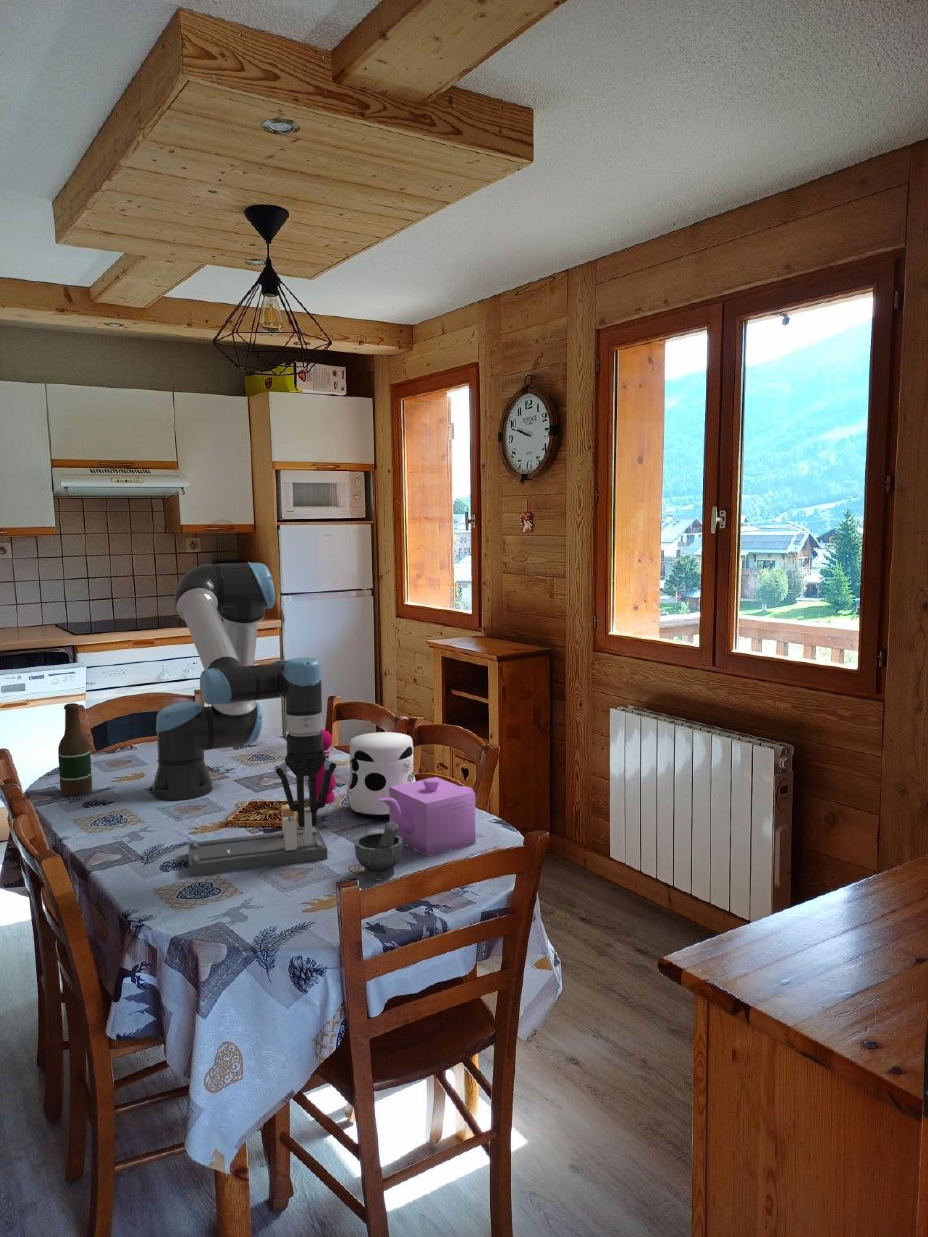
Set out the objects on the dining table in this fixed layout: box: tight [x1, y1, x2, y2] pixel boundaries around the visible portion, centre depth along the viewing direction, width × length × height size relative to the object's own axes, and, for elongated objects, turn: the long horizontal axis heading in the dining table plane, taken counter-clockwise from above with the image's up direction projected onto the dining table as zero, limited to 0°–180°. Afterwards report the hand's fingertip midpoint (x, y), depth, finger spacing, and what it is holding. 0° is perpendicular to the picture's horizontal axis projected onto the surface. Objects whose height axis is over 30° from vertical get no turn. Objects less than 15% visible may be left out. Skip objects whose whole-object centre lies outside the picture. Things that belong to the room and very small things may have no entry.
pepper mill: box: [306, 724, 337, 805], centre depth 227 cm, size 7×7×20 cm
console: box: [187, 826, 328, 877], centre depth 190 cm, size 13×28×3 cm, turn 108°
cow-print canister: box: [346, 731, 417, 818], centre depth 218 cm, size 17×17×18 cm
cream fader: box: [283, 815, 298, 851], centre depth 187 cm, size 3×2×6 cm
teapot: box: [378, 776, 477, 857], centre depth 198 cm, size 15×25×14 cm, turn 126°
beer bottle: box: [57, 702, 93, 797], centre depth 236 cm, size 8×8×24 cm
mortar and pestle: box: [354, 821, 403, 880], centre depth 179 cm, size 11×9×12 cm
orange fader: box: [280, 803, 295, 836], centre depth 196 cm, size 3×2×6 cm
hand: (308, 840), depth 189 cm, fingers closed
